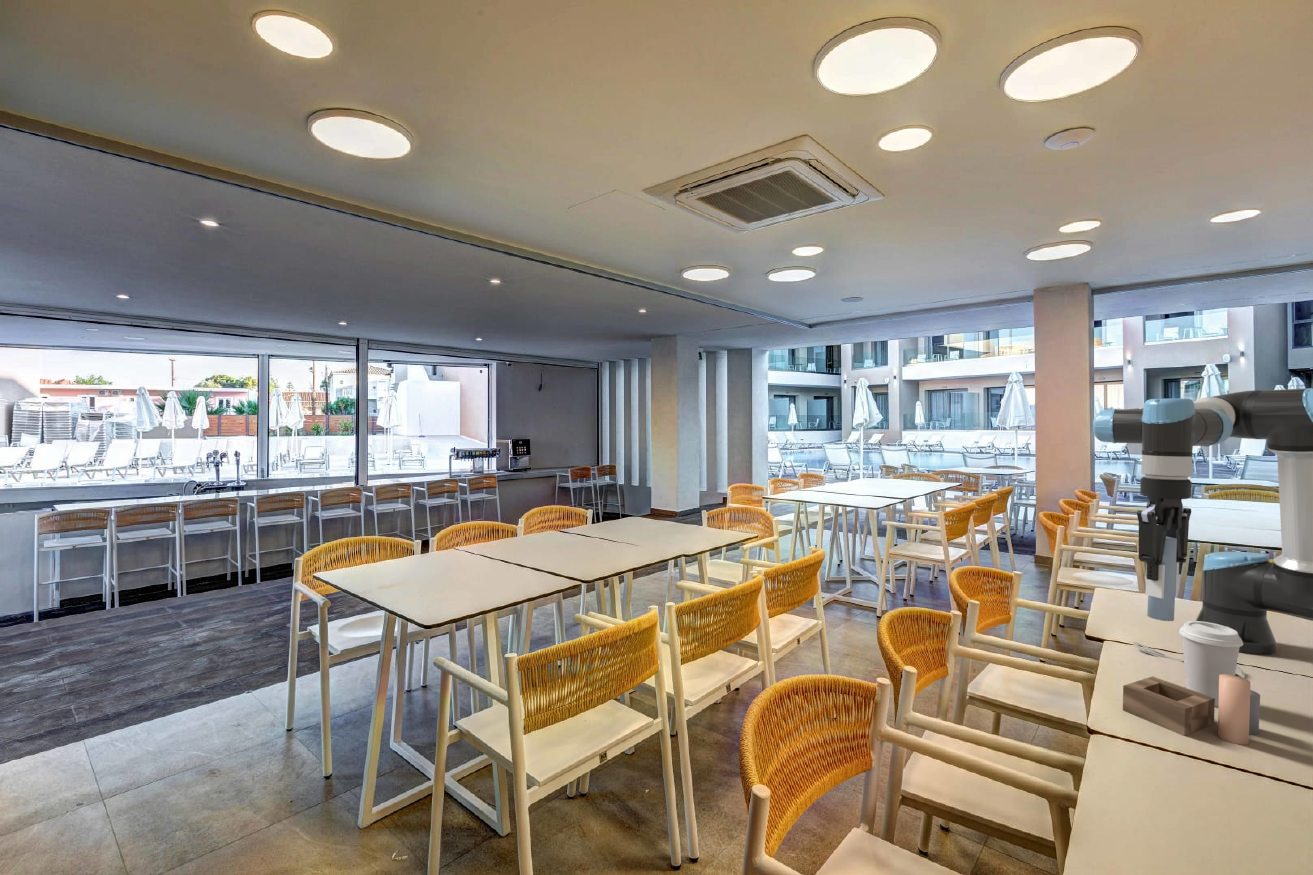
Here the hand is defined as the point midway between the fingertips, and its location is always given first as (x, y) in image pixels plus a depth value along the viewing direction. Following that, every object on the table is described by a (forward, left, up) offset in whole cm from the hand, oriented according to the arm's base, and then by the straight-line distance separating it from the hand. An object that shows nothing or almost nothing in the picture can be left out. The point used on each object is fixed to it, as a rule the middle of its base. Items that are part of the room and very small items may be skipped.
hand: (1161, 594), depth 114 cm
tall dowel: (0, 0, -5) cm, 5 cm away
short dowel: (-6, +10, -23) cm, 26 cm away
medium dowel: (0, +11, -23) cm, 26 cm away
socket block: (+2, +2, -23) cm, 23 cm away
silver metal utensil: (-32, -10, -24) cm, 41 cm away
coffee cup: (-14, +2, -24) cm, 28 cm away
